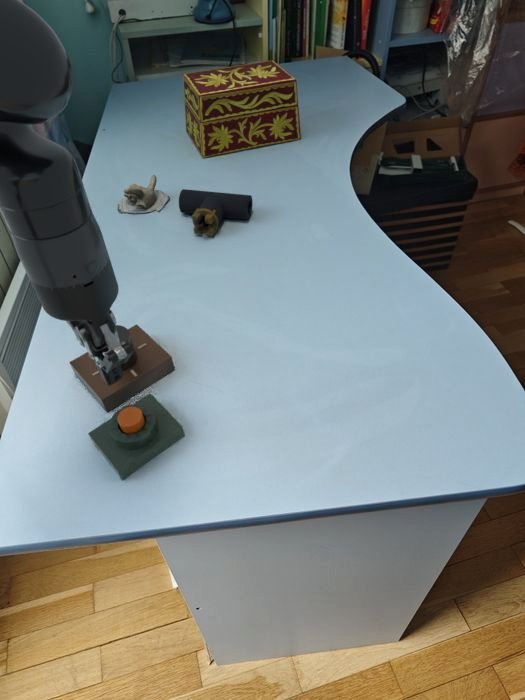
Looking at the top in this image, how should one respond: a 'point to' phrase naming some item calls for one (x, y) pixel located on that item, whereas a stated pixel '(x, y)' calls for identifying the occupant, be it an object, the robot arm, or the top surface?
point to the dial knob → (126, 337)
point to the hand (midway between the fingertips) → (113, 378)
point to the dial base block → (126, 371)
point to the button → (131, 420)
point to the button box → (137, 437)
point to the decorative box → (241, 108)
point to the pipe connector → (213, 208)
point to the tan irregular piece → (142, 198)
